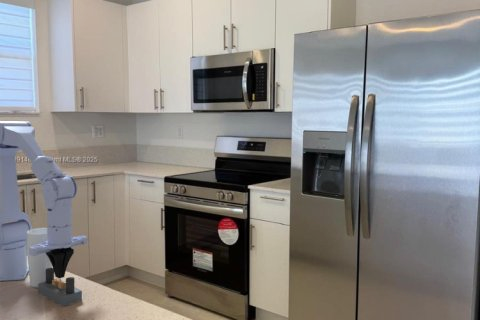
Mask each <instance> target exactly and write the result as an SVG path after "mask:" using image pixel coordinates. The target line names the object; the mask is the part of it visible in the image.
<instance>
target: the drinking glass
mask: <svg viewBox="0 0 480 320" xmlns="http://www.w3.org/2000/svg"><path fill="white" fill-rule="evenodd" d="M46 241H47V227H37V228H35V227H34V228H32V229H31V230H28V231H27V237H26V244H25V245H26V248H27V267H29V271H28V275H29V286H30V287H31V288H37V289H38V284H39V283H42V282H46V269H47V268H53V266H52V264H51V262H50V260H49V258H48V256H47V255H46V253H42V254H38V255H37V256H31V255H29V247H32V246H35V245H38V244H41V243H44V242H46Z"/></svg>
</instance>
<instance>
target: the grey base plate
mask: <svg viewBox="0 0 480 320" xmlns="http://www.w3.org/2000/svg"><path fill="white" fill-rule="evenodd" d="M55 279H57V277H56V278H55ZM61 282H63V280H61ZM37 289H38V290H37V293H38V294H39V295H41V296H43V297H45V298H47V299H49V300H50V301H53V302H54V303H56V304H57V305H59V306H61V307H66V306H70V305H73V304H75V303H77V302H80V301H82V300H83V298H82V296H83V291H82V289H80V288H77V287H75V286H74V293H72V294H66V287H65V288H62V289H60V288H58V285H55V286H54V285H52V283H50V284H47V283H46V282H42V283H39V284H38V288H37Z"/></svg>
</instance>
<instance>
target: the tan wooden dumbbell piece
mask: <svg viewBox="0 0 480 320" xmlns="http://www.w3.org/2000/svg"><path fill="white" fill-rule="evenodd" d="M56 278H57V277H56ZM56 278H54V279H53V280H52V285H54V286H55V285H58V288H60V289H62V288H65V287H66V280H64V281H63V280H62V278H57V279H56ZM61 281H63V282H61Z"/></svg>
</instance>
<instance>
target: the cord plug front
mask: <svg viewBox="0 0 480 320" xmlns="http://www.w3.org/2000/svg"><path fill="white" fill-rule="evenodd" d="M65 281H66V294H72V293H74V287H75V277H74V276H69V277H66V278H65Z"/></svg>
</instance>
